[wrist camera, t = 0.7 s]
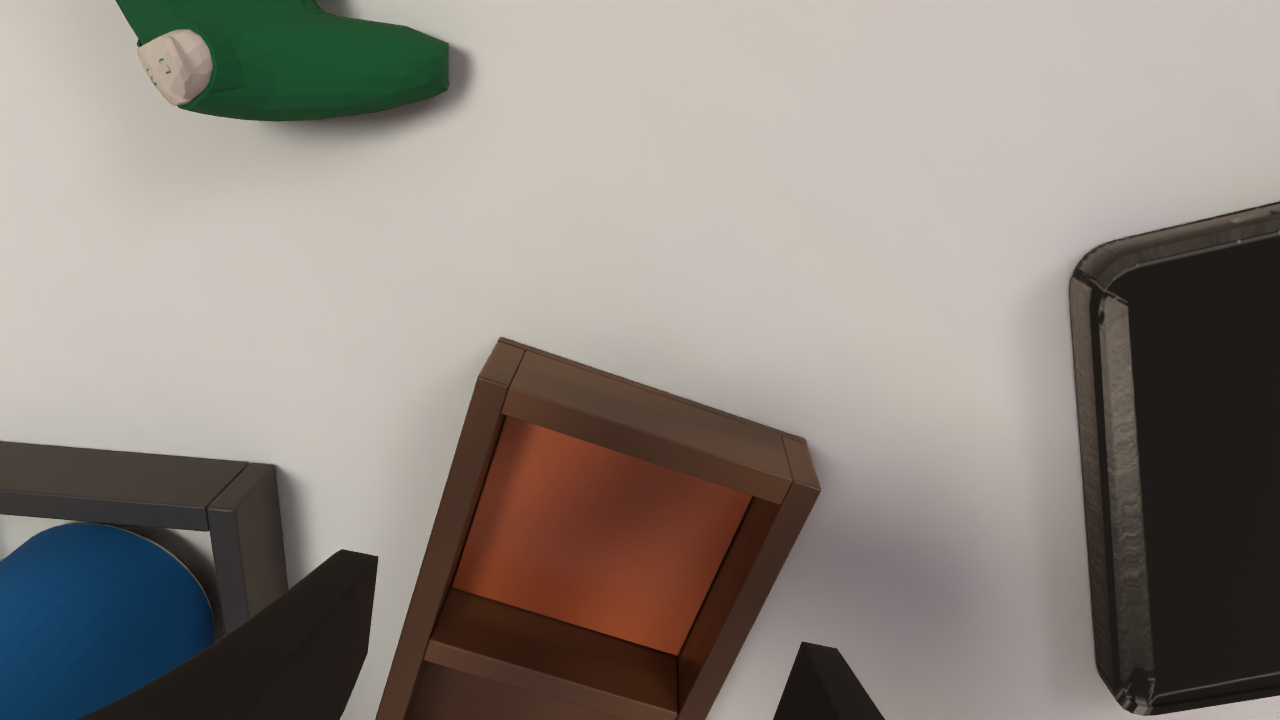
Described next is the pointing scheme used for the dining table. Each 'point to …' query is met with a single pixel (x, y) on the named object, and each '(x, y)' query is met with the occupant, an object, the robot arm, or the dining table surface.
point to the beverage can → (93, 620)
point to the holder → (162, 508)
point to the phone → (1183, 459)
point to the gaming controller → (281, 59)
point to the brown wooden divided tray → (594, 550)
